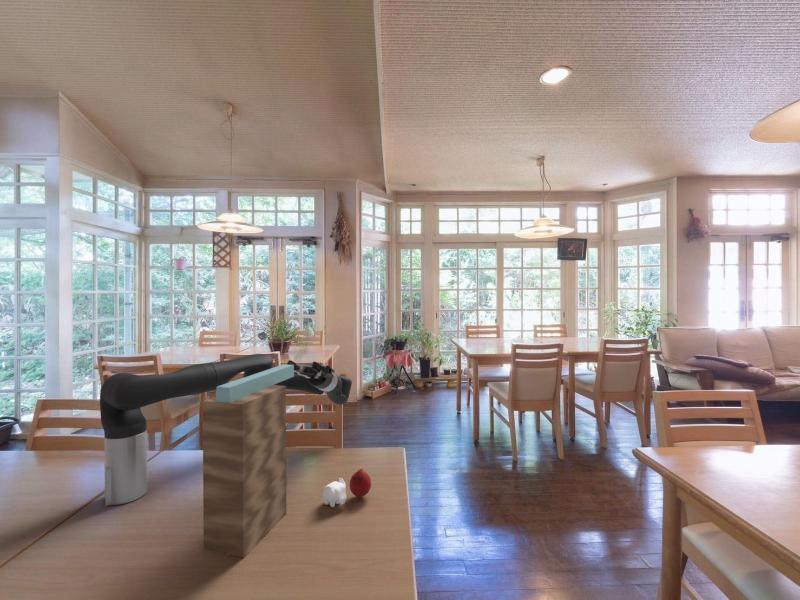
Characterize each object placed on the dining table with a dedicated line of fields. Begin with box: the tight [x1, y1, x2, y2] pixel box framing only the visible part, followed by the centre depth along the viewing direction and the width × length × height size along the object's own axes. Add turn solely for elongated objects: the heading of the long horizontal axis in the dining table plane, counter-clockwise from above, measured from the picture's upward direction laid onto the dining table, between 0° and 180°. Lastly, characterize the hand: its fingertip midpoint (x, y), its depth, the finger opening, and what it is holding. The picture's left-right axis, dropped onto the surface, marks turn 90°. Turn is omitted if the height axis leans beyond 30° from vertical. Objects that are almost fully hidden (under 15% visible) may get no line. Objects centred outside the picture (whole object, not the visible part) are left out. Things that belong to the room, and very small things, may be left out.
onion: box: [349, 467, 372, 499], centre depth 98 cm, size 6×6×8 cm
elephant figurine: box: [321, 477, 348, 508], centre depth 95 cm, size 7×8×6 cm
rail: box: [216, 363, 294, 403], centre depth 90 cm, size 26×3×3 cm, turn 166°
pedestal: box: [202, 385, 287, 559], centre depth 85 cm, size 16×10×32 cm, turn 165°
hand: (301, 363), depth 112 cm, fingers open, 8 cm apart
